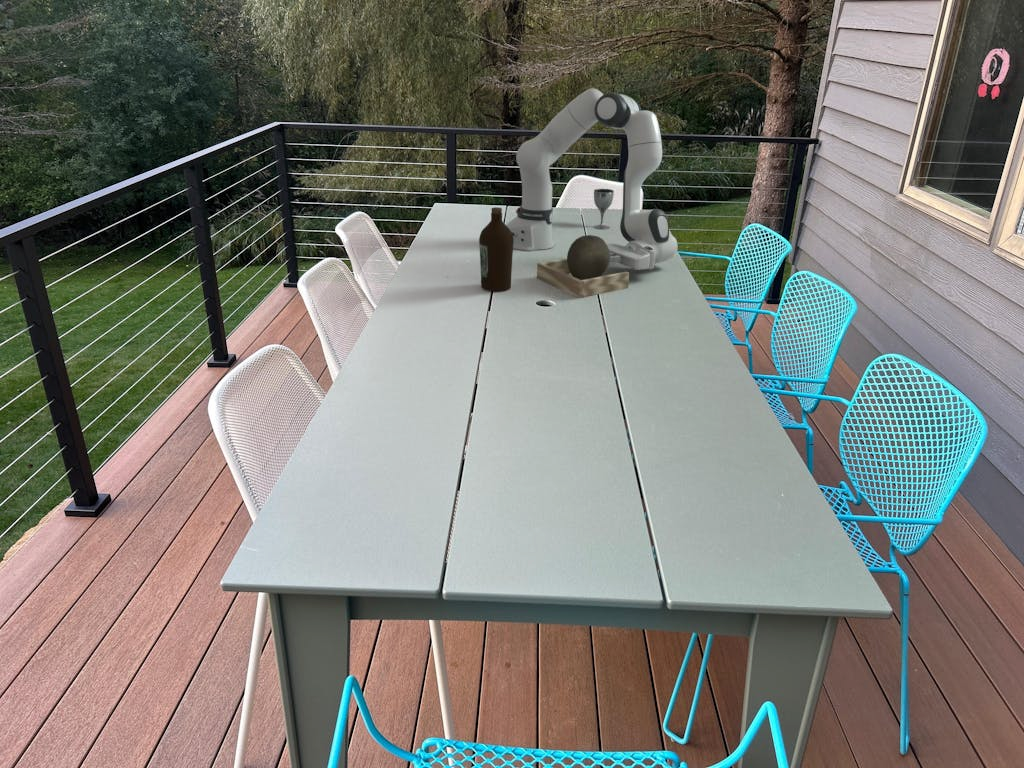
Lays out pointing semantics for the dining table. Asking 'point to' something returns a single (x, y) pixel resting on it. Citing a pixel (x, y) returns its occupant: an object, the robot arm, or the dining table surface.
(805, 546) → the dining table surface
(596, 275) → the cantaloupe
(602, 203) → the wine glass
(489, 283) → the olive oil
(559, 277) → the box
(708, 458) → the dining table surface
